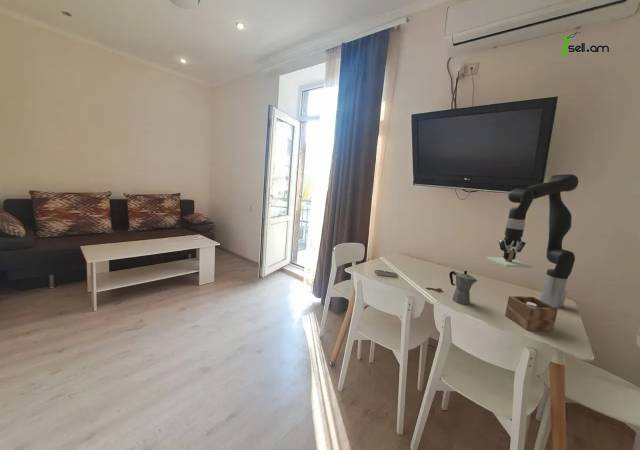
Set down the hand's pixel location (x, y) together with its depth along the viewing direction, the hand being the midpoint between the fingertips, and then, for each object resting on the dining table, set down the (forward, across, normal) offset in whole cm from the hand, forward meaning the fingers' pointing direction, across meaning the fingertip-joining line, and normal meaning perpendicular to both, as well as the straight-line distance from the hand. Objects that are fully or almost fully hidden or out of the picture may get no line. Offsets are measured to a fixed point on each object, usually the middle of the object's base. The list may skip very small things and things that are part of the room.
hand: (508, 259), depth 136 cm
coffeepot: (+28, +19, -7) cm, 34 cm away
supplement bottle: (+28, -2, +16) cm, 32 cm away
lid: (+2, 0, 0) cm, 2 cm away
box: (+28, -2, +16) cm, 32 cm away
